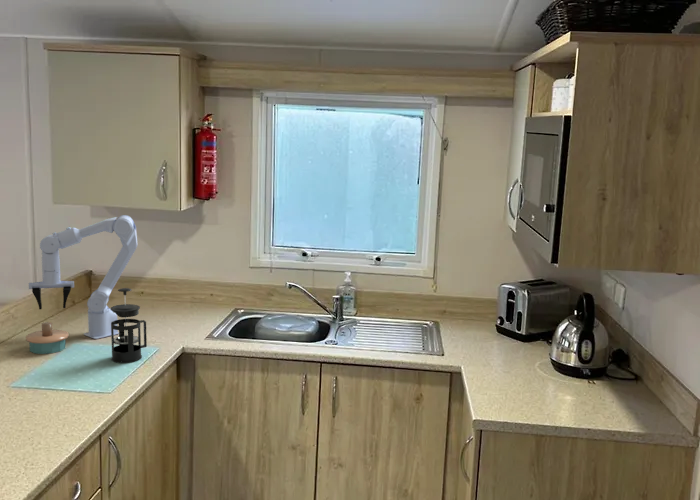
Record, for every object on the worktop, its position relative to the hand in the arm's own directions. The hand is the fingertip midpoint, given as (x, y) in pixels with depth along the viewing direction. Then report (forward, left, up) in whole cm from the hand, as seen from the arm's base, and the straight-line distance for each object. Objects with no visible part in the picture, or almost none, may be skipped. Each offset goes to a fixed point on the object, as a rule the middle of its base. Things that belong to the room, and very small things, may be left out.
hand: (52, 308), depth 243 cm
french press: (-5, +38, -11) cm, 40 cm away
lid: (+8, +12, -6) cm, 16 cm away
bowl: (+8, +11, -10) cm, 17 cm away
